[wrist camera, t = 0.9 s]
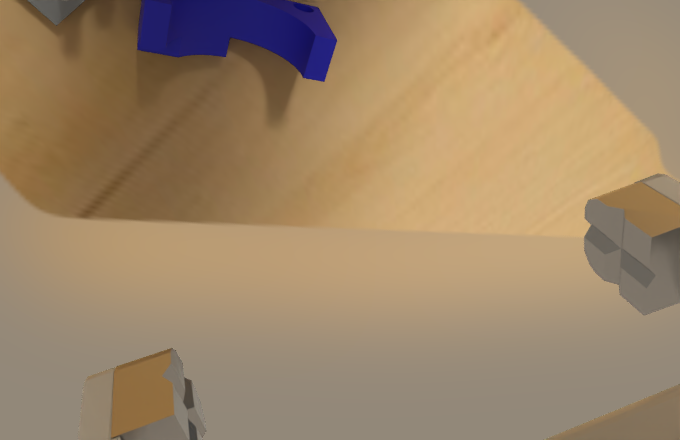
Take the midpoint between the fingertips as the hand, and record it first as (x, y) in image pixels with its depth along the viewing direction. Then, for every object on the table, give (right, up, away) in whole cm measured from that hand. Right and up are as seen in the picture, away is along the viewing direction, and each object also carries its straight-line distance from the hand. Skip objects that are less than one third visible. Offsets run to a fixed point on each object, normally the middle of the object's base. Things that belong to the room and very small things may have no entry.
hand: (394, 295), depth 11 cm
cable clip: (-9, +16, +32) cm, 36 cm away
